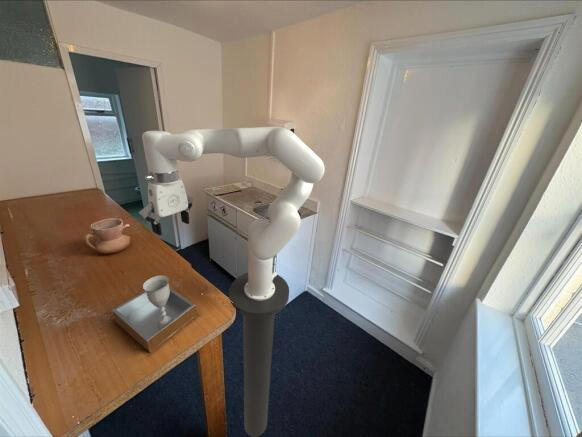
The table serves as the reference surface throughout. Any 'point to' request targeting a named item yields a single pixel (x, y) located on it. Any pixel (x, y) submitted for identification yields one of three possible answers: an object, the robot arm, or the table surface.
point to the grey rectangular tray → (153, 318)
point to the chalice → (158, 295)
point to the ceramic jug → (108, 236)
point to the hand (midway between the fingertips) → (172, 228)
